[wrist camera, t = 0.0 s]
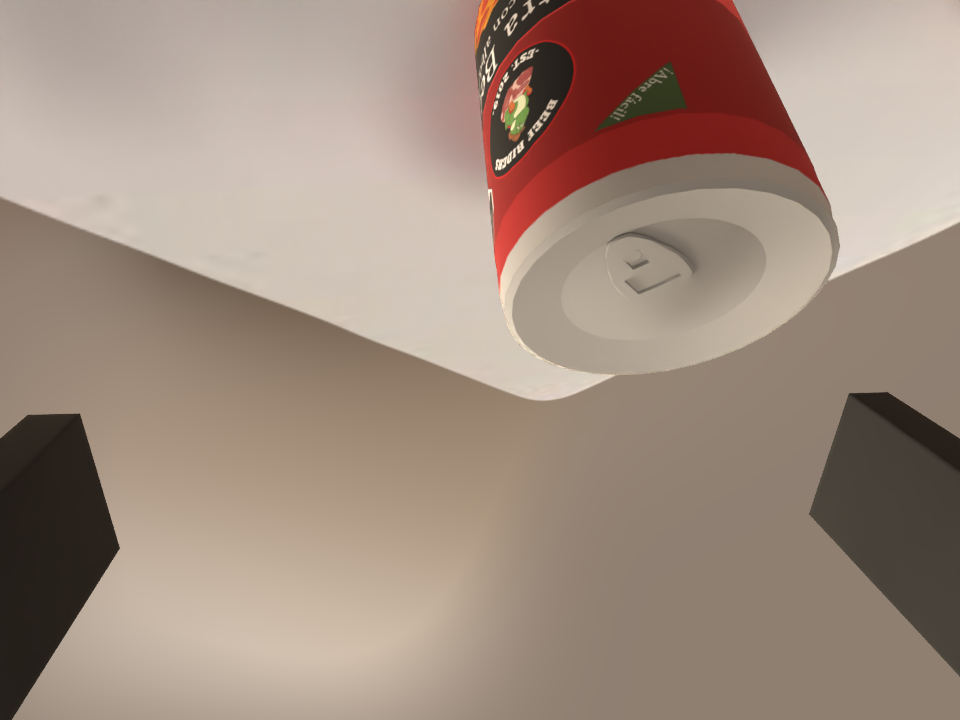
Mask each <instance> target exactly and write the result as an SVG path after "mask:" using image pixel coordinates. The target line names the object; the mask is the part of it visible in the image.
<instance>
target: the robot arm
mask: <svg viewBox="0 0 960 720" xmlns="http://www.w3.org/2000/svg"><path fill="white" fill-rule="evenodd" d="M809 514H810V516H811V517H812V518H813V519H814V520H815V521H816V522H817V523H818V524H819V525H820V526H821V527H822V528H823V529H824V531H825V532H826V533H827V534H828V535H829V536H830V537H831V538H832V539H833V540H834V541H835V542H836V543H837V545H838V546H839V547H840V548H841V549H842V550H843V551H844V552H845V553H846V554H847V555H848V556H849V558H850V559H851V560H852V561H853V562H854V563H855V564H856V565H857V566H858V567H859V568H860V569H861V570H862V571H863V573H864V574H865V575H866V576H867V577H868V578H869V579H870V580H871V581H872V582H873V583H874V584H875V585H876V587H877V588H878V589H879V590H880V591H881V592H882V593H883V594H884V595H885V596H886V597H887V598H888V600H890V602H891V603H892V604H893V605H894V606H895V607H896V608H897V609H898V610H899V611H900V612H901V614H902V615H903V616H904V617H905V618H906V619H907V620H908V621H909V622H910V623H911V624H912V625H913V626H914V628H915V629H916V630H917V631H918V632H919V633H920V634H921V635H922V636H923V637H924V638H925V639H926V640H927V642H928V643H929V644H930V645H931V646H932V647H933V648H934V649H935V650H936V651H937V652H938V653H939V654H940V656H941V657H942V658H943V659H944V660H945V661H946V662H947V663H948V664H949V665H950V666H951V667H952V668H953V670H954V671H955V672H956V673H957V674H958V675H959V676H960V439H959V438H958V437H956V436H955V435H953V434H952V433H950V432H949V431H947V430H945V429H944V428H942V427H941V426H939V425H937V424H936V423H935V422H933V421H931V420H930V419H928V418H927V417H925V416H923V415H922V414H921V413H919V412H917V411H916V410H914V409H913V408H911V407H910V406H908V405H907V404H905V403H903V402H902V401H900V400H899V399H897V398H896V397H894V396H893V395H891V394H889V393H888V392H883V393H849V395H848V398H847V401H846V404H845V407H844V410H843V413H842V416H841V419H840V422H839V425H838V428H837V431H836V434H835V438H834V441H833V443H832V446H831V450H830V453H829V456H828V459H827V462H826V465H825V468H824V471H823V474H822V477H821V480H820V483H819V486H818V489H817V492H816V495H815V498H814V501H813V504H812V507H811V510H810V513H809ZM119 549H120V547H119V544H118V541H117V537H116V534H115V530H114V527H113V524H112V521H111V517H110V514H109V510H108V507H107V503H106V500H105V497H104V493H103V490H102V487H101V483H100V480H99V477H98V473H97V470H96V466H95V463H94V460H93V456H92V453H91V449H90V446H89V443H88V440H87V436H86V433H85V429H84V426H83V423H82V419H81V416H80V414H51V415H50V414H49V415H27V416H26V417H25V418H24V419H23V420H21V421H20V422H19V423H18V424H17V425H16V426H14V427H13V428H12V429H11V430H10V431H9V432H7V433H6V434H5V435H4V436H3V437H2V438H0V720H12V718H13V717H14V715H15V714H16V712H17V711H18V709H19V707H20V706H21V704H22V703H23V701H24V699H25V698H26V696H27V695H28V693H29V691H30V690H31V688H32V687H33V685H34V684H35V682H36V680H37V679H38V677H39V676H40V673H41V672H42V671H43V669H44V668H45V666H46V665H47V663H48V661H49V660H50V658H51V657H52V655H53V653H54V652H55V650H56V649H57V647H58V646H59V644H60V642H61V641H62V639H63V638H64V636H65V634H66V633H67V631H68V630H69V628H70V627H71V625H72V623H73V622H74V620H75V619H76V617H77V615H78V614H79V612H80V611H81V609H82V608H83V606H84V604H85V603H86V601H87V600H88V598H89V596H90V595H91V593H92V591H93V590H94V588H95V587H96V585H97V584H98V582H99V581H100V579H101V577H102V576H103V574H104V573H105V571H106V569H107V568H108V566H109V565H110V563H111V561H112V560H113V558H114V557H115V555H116V554H117V552H118V550H119Z"/></svg>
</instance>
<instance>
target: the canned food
mask: <svg viewBox="0 0 960 720" xmlns="http://www.w3.org/2000/svg"><path fill="white" fill-rule="evenodd" d="M475 57H476V68H477V78H478V88H479V99H480V109H481V119H482V130H483V140H484V150H485V161H486V171H487V181H488V192H489V202H490V213H491V223H492V233H493V244H494V254H495V262H496V267H497V275H498V284H499V294H500V298H501V302H502V305H503V308H504V315H505V319H506V322H507V325H508V328H509V331H510V332H511V334H512V335H513V336H514V338H515V339H516V341H517V342H518V343H519V345H521V346H522V347H523V348H525V349H526V350H527V351H528V352H530V353H531V354H532V355H533V356H535V357H537V358H539V359H542V360H544V361H546V362H548V363H550V364H552V365H556V366H559V367H562V368H565V369H569V370H573V371H579V372H585V373H591V374H607V375H627V374H646V373H653V372H661V371H667V370H672V369H677V368H681V367H686V366H691V365H694V364H698V363H701V362H704V361H708V360H711V359H714V358H717V357H720V356H722V355H725V354H727V353H730V352H732V351H735V350H737V349H740V348H742V347H745V346H747V345H748V344H750V343H752V342H754V341H756V340H758V339H760V338H762V337H764V336H766V335H768V334H770V333H771V332H773V331H774V330H775V329H777V328H778V327H780V326H782V325H783V324H784V323H786V322H788V321H789V320H791V319H792V318H793V317H794V316H795V315H796V314H798V313H799V312H800V311H801V310H802V309H803V308H805V307H806V306H807V305H808V304H809V303H810V302H811V301H812V300H813V299H814V298H815V296H816V295H817V294H818V293H819V292H820V291H821V289H822V288H823V287H824V286H825V284H826V283H827V281H828V279H829V277H830V275H831V273H832V272H833V270H834V268H835V266H836V262H837V257H838V252H839V248H840V244H839V237H838V231H837V226H836V224H835V222H834V220H833V217H832V212H831V206H830V203H829V201H828V199H827V197H826V195H825V193H824V190H823V188H822V186H821V184H820V182H819V180H818V178H817V175H816V172H815V170H814V167H813V165H812V163H811V161H810V159H809V156H808V154H807V152H806V150H805V148H804V146H803V144H802V142H801V140H800V138H799V136H798V134H797V132H796V130H795V128H794V126H793V124H792V122H791V120H790V118H789V116H788V113H787V111H786V109H785V107H784V105H783V103H782V101H781V99H780V97H779V95H778V93H777V91H776V89H775V87H774V85H773V83H772V81H771V79H770V77H769V75H768V72H767V70H766V68H765V66H764V64H763V62H762V60H761V58H760V56H759V54H758V52H757V50H756V48H755V46H754V44H753V42H752V40H751V38H750V36H749V34H748V31H747V29H746V27H745V25H744V23H743V21H742V19H741V17H740V15H739V13H738V11H737V9H736V7H735V5H734V3H733V1H732V0H482V1H481V4H480V6H479V11H478V17H477V22H476V28H475Z"/></svg>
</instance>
